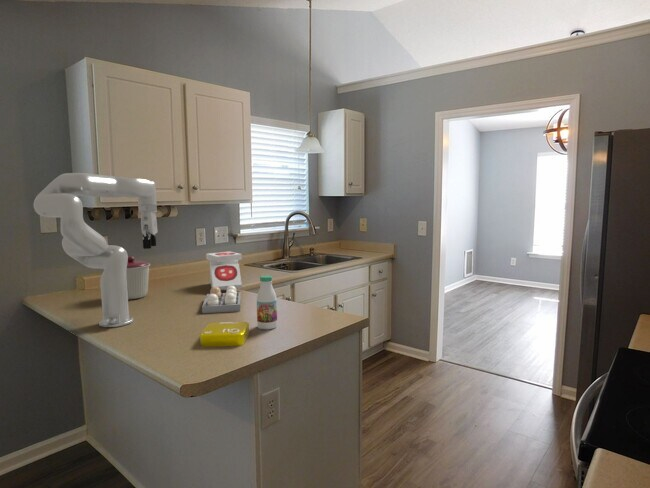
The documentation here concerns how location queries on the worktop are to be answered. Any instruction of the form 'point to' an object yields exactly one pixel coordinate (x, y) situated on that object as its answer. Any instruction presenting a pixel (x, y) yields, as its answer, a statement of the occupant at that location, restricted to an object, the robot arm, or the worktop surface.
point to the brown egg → (215, 291)
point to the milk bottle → (266, 304)
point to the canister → (137, 278)
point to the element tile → (225, 334)
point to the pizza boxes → (225, 270)
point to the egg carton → (223, 302)
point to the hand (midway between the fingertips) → (149, 247)
